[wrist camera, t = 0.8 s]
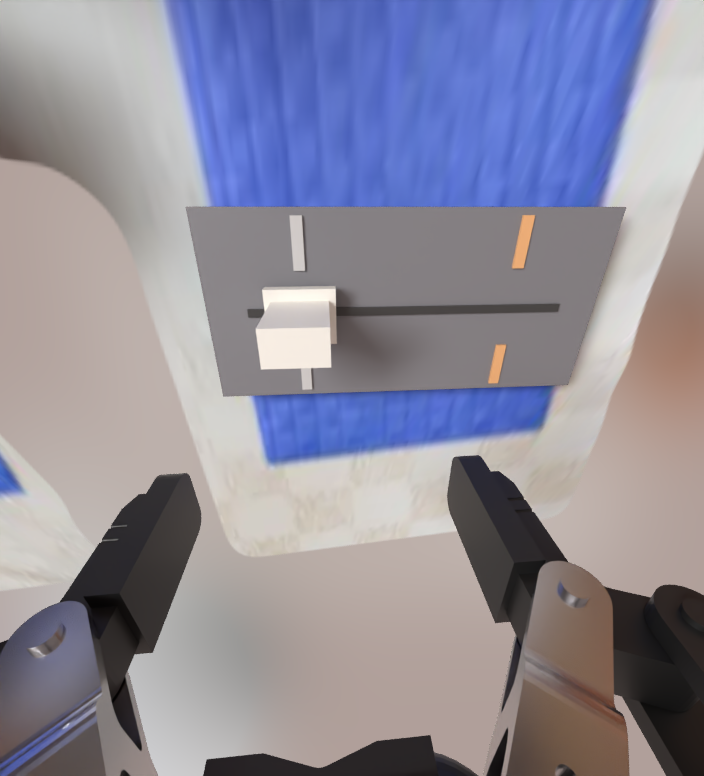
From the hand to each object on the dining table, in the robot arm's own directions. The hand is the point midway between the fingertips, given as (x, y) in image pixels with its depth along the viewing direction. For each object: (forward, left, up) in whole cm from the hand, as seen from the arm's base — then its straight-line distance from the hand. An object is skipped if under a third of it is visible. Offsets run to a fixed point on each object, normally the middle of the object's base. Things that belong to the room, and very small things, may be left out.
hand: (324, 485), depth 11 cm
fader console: (-1, +6, -21) cm, 22 cm away
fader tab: (-1, -2, -17) cm, 17 cm away
